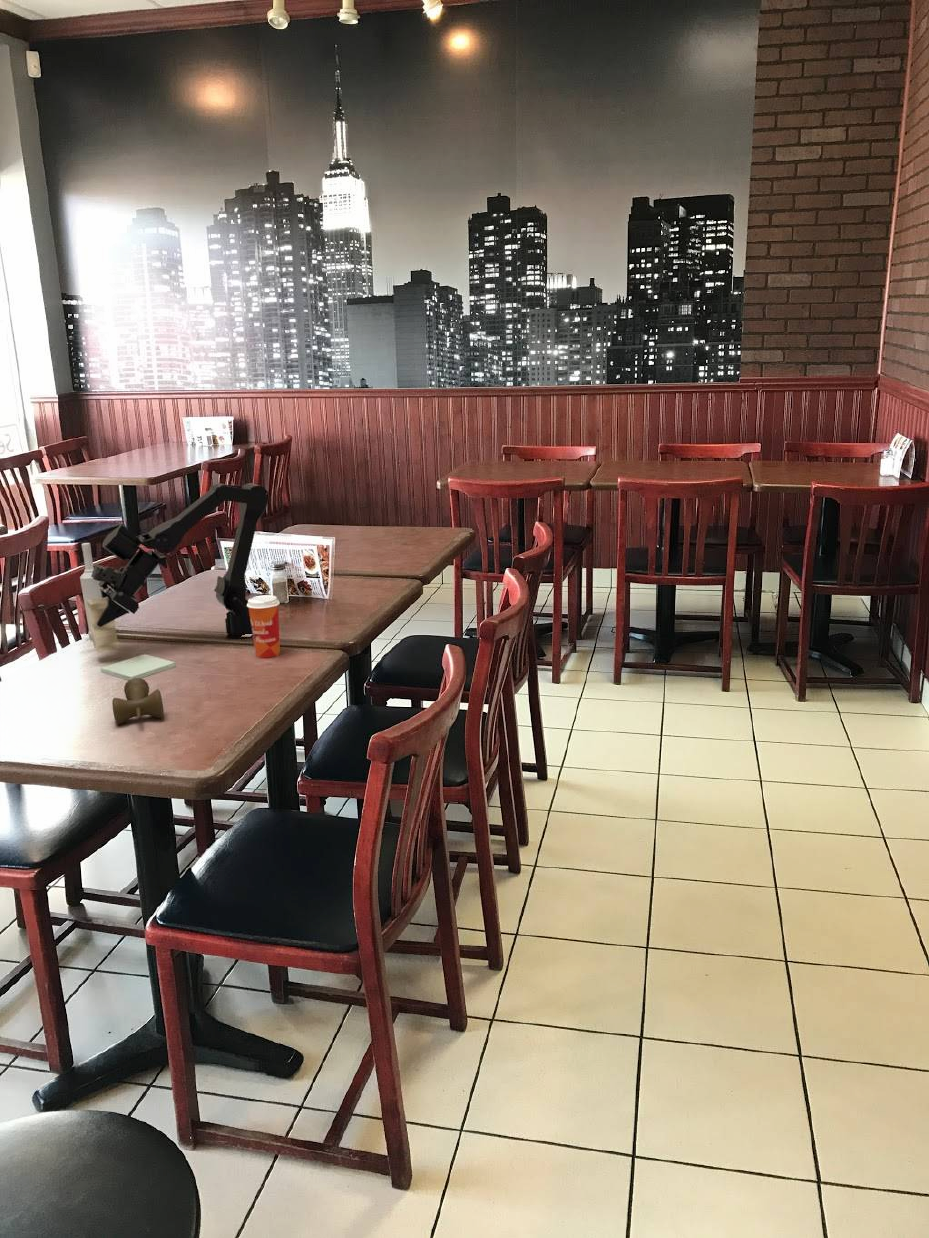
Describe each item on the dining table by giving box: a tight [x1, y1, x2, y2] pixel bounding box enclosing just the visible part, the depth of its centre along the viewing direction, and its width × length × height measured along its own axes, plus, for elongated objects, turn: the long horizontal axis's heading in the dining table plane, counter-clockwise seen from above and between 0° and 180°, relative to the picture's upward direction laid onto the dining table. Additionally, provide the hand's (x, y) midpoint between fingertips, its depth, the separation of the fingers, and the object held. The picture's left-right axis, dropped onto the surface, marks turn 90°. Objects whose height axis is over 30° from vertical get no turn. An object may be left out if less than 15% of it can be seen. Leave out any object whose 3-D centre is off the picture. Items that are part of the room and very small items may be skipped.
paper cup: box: [247, 594, 281, 659], centre depth 240 cm, size 8×8×14 cm
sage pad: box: [100, 653, 176, 681], centre depth 234 cm, size 12×12×1 cm
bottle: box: [79, 542, 104, 641], centre depth 258 cm, size 5×5×25 cm
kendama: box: [111, 678, 165, 726], centre depth 206 cm, size 6×10×20 cm
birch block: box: [87, 597, 119, 654], centre depth 240 cm, size 5×5×12 cm
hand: (96, 623), depth 239 cm, fingers closed on birch block, 5 cm apart
